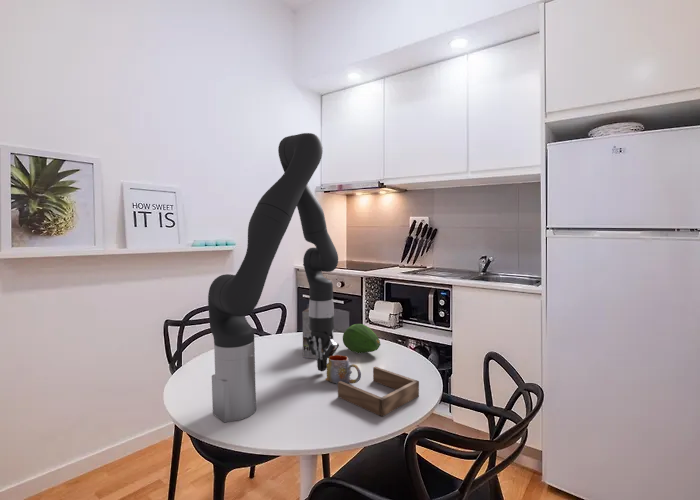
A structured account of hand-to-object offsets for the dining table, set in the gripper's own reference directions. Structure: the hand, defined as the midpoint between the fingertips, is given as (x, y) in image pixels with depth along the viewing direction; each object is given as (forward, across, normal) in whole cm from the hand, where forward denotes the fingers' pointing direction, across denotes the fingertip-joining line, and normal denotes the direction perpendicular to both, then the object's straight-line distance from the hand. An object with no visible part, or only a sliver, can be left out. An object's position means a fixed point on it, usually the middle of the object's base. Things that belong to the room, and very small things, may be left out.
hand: (322, 370), depth 115 cm
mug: (+1, +9, 0) cm, 9 cm away
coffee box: (+1, -15, +10) cm, 18 cm away
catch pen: (+1, +23, 0) cm, 23 cm away
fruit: (+1, -4, +22) cm, 22 cm away
